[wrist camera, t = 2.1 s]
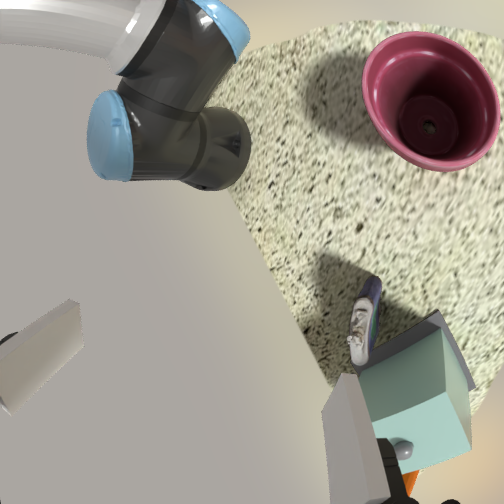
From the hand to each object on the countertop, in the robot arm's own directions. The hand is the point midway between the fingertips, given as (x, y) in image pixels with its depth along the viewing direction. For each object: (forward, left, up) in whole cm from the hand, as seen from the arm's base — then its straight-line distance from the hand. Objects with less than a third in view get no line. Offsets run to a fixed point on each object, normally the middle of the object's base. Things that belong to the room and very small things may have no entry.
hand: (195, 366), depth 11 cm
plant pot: (-6, +20, -30) cm, 37 cm away
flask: (+8, -2, -30) cm, 31 cm away
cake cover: (+22, -2, -30) cm, 37 cm away
